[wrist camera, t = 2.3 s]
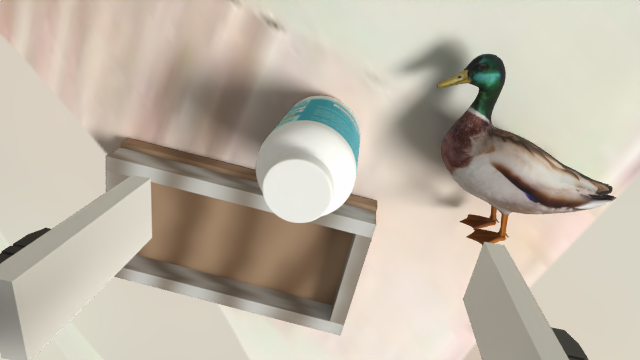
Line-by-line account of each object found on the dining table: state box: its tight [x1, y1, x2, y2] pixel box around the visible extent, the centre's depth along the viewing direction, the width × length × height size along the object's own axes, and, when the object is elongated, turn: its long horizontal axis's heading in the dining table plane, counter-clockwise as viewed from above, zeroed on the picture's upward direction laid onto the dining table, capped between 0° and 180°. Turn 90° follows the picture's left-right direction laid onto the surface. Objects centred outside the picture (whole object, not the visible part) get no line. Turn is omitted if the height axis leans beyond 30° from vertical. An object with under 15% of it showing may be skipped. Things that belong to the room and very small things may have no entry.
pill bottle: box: [256, 96, 360, 223], centre depth 32 cm, size 8×7×14 cm
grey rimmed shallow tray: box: [106, 138, 377, 335], centre depth 42 cm, size 26×15×4 cm, turn 77°
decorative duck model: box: [437, 54, 616, 246], centre depth 33 cm, size 15×8×15 cm
